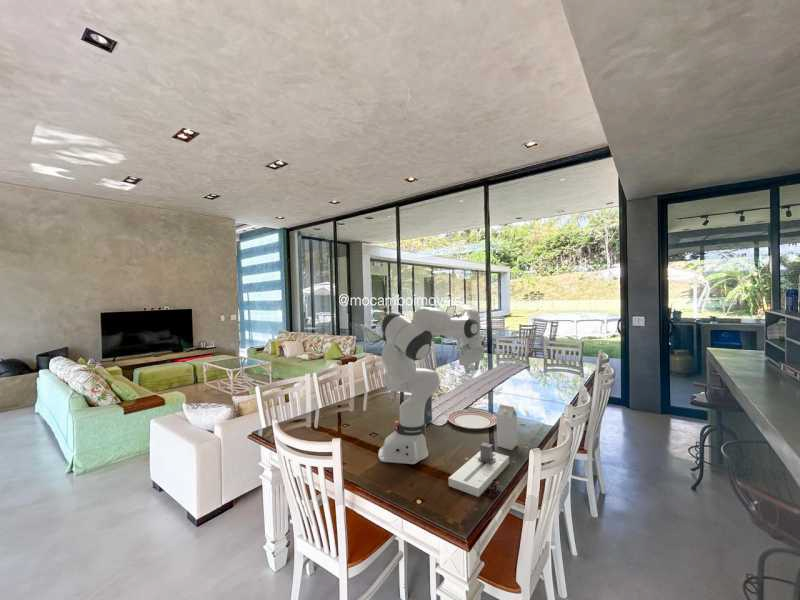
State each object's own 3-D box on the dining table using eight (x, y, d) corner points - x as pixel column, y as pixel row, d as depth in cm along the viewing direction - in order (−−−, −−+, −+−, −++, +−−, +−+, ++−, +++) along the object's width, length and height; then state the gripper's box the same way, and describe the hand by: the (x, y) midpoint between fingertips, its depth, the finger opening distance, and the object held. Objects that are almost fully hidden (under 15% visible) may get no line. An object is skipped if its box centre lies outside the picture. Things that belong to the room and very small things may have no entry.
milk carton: (502, 441, 165) (502, 402, 165) (517, 445, 160) (516, 405, 160) (496, 446, 159) (496, 406, 159) (511, 450, 155) (511, 409, 155)
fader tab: (491, 463, 136) (491, 448, 136) (477, 459, 139) (477, 444, 139) (495, 459, 139) (495, 444, 139) (482, 455, 143) (481, 441, 143)
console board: (478, 497, 119) (478, 488, 119) (448, 485, 126) (448, 477, 126) (509, 463, 143) (509, 456, 143) (482, 455, 150) (482, 448, 150)
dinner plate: (499, 434, 174) (499, 428, 174) (446, 431, 179) (446, 425, 179) (495, 416, 200) (495, 410, 200) (449, 413, 206) (449, 408, 206)
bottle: (425, 425, 188) (424, 371, 188) (411, 420, 194) (410, 368, 194) (435, 420, 195) (434, 368, 195) (421, 416, 202) (421, 366, 201)
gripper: (467, 346, 154) (468, 376, 154) (486, 341, 171) (486, 369, 171) (455, 345, 158) (455, 375, 158) (474, 340, 174) (475, 367, 174)
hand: (472, 371), depth 165 cm, fingers open, 8 cm apart
